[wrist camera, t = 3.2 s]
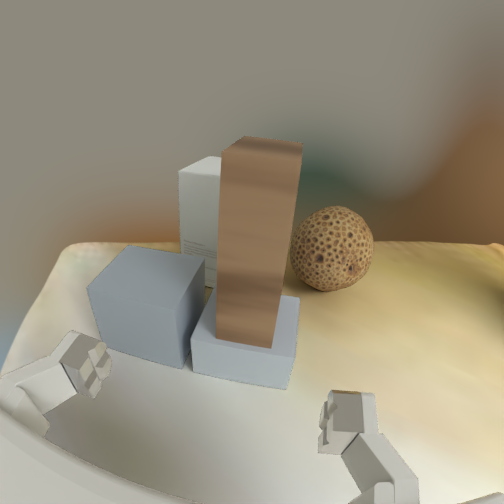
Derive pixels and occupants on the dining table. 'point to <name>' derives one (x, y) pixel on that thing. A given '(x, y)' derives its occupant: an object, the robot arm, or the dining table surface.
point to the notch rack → (183, 319)
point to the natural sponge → (332, 249)
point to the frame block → (254, 236)
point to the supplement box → (200, 213)
